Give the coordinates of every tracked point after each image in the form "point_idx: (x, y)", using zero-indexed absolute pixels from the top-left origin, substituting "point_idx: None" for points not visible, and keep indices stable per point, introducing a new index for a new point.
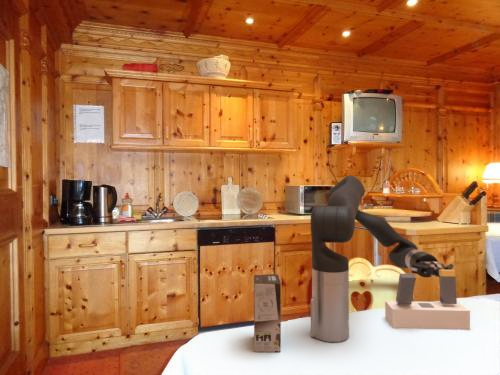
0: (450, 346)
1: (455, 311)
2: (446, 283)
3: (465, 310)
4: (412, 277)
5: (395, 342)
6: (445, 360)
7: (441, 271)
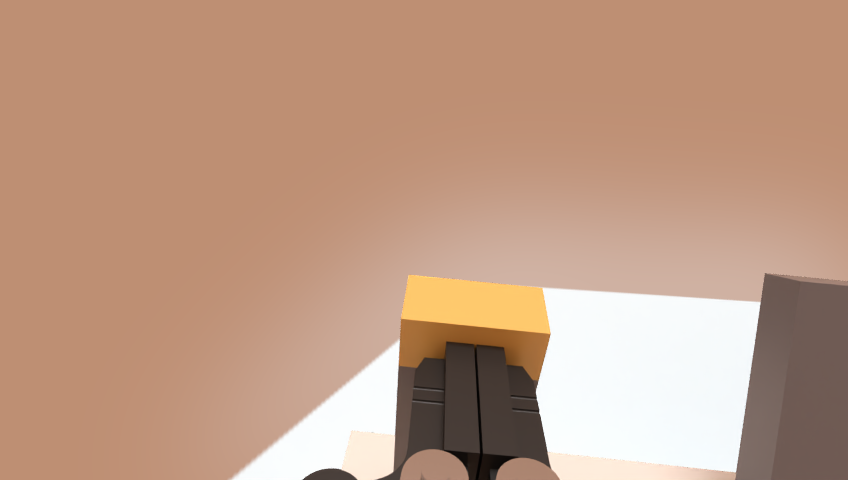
0: None
1: None
2: None
3: (376, 436)
4: (791, 276)
5: (741, 415)
6: (578, 319)
7: (540, 297)
